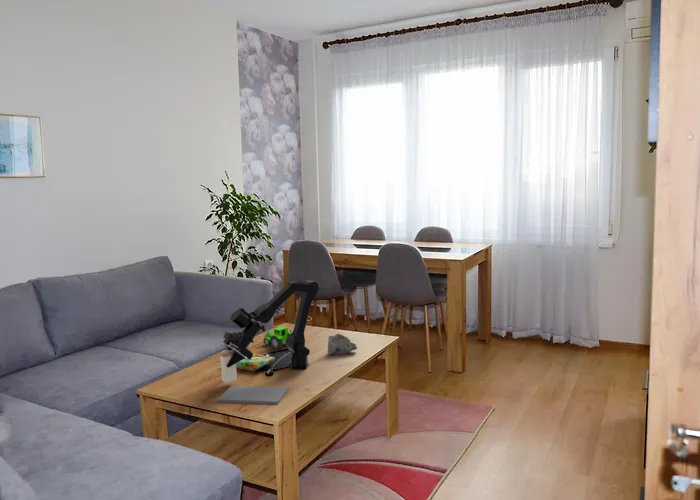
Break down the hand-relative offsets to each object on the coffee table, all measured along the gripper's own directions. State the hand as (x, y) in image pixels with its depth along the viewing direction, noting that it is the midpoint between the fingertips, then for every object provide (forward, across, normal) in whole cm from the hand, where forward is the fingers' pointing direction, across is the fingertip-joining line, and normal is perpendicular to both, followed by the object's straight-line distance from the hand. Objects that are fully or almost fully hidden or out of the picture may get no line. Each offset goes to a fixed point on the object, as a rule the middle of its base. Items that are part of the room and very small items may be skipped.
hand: (225, 365), depth 227 cm
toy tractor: (-23, -35, +36) cm, 55 cm away
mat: (+3, +17, +9) cm, 20 cm away
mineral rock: (-35, -3, +48) cm, 60 cm away
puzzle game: (-6, -16, +19) cm, 26 cm away
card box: (+4, 0, +6) cm, 7 cm away
